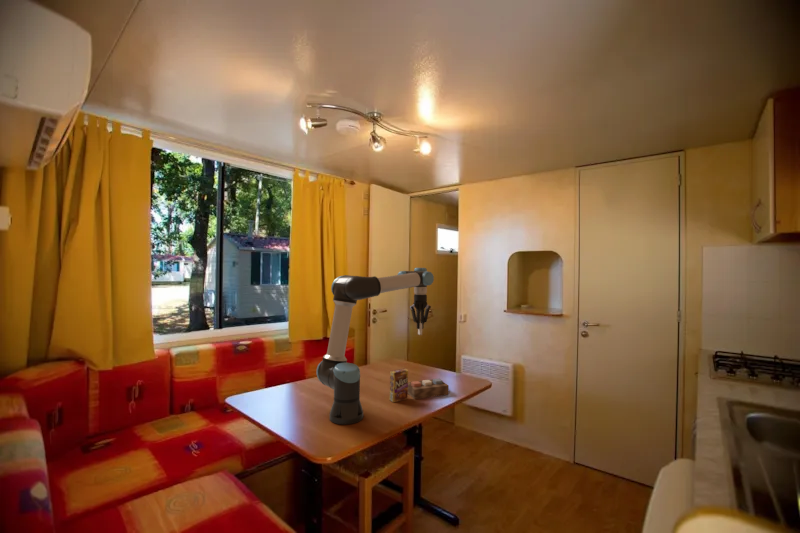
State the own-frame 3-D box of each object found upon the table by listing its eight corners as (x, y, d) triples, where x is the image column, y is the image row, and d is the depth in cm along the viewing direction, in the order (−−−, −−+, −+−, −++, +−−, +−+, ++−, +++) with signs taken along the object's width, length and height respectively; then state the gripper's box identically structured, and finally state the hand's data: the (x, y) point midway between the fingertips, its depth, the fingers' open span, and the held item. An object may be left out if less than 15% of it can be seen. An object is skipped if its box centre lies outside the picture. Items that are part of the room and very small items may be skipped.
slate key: (435, 388, 192) (436, 381, 192) (432, 386, 196) (432, 379, 196) (442, 387, 193) (442, 380, 193) (439, 385, 197) (439, 378, 197)
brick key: (414, 391, 187) (414, 384, 187) (411, 389, 191) (411, 381, 191) (420, 390, 189) (421, 383, 189) (417, 388, 192) (417, 380, 192)
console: (414, 399, 183) (414, 389, 183) (405, 391, 194) (405, 382, 194) (448, 394, 190) (448, 385, 190) (438, 387, 201) (438, 378, 201)
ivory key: (425, 390, 190) (425, 382, 190) (422, 387, 193) (422, 380, 193) (431, 389, 191) (431, 381, 191) (428, 386, 195) (428, 379, 195)
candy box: (393, 403, 178) (394, 372, 178) (389, 400, 181) (389, 370, 181) (408, 399, 182) (408, 370, 183) (403, 397, 186) (403, 368, 186)
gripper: (412, 294, 200) (412, 336, 200) (433, 294, 205) (432, 334, 205) (407, 293, 207) (407, 333, 207) (427, 293, 212) (427, 332, 212)
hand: (420, 334), depth 206 cm, fingers closed
